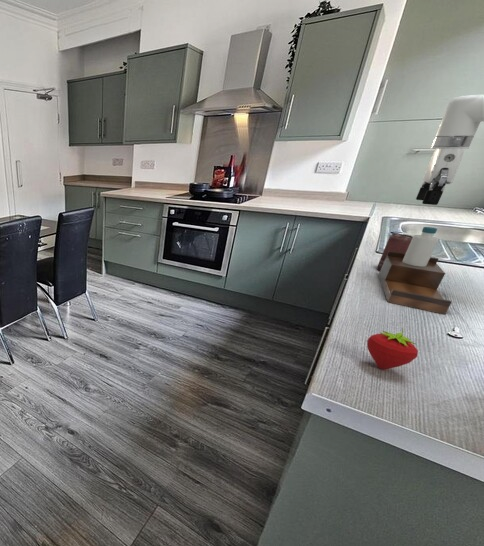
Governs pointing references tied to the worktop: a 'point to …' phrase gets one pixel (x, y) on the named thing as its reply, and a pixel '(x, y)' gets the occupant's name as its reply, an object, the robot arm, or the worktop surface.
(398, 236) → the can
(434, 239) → the bottle
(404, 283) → the rack
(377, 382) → the worktop surface
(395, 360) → the strawberry
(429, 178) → the robot arm
